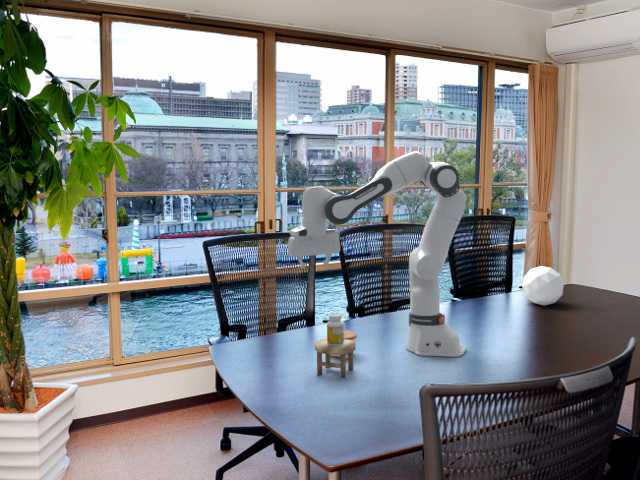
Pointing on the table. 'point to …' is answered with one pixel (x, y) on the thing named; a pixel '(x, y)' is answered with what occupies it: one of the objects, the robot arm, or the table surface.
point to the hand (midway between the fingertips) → (314, 266)
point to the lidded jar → (350, 336)
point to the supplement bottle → (335, 330)
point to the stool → (335, 356)
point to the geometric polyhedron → (543, 285)
